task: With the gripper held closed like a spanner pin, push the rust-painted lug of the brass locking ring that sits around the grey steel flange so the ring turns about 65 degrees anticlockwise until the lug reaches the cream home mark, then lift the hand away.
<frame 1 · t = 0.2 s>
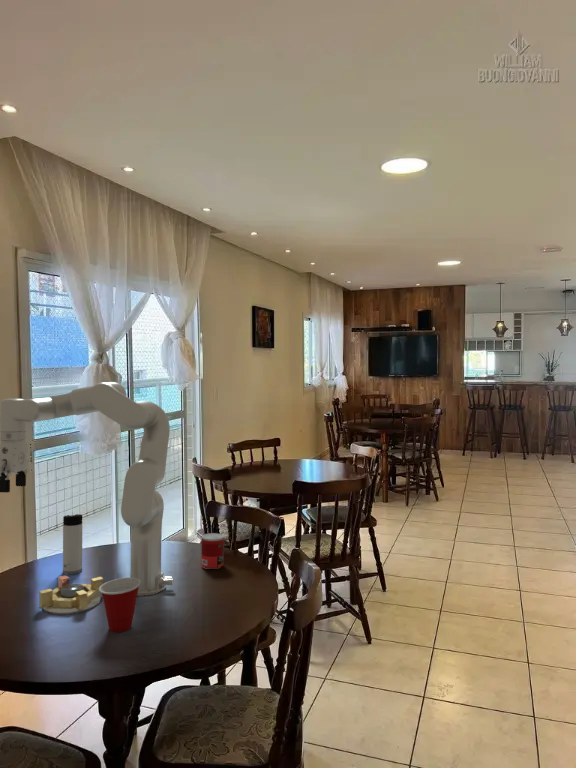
hand: (12, 489, 176), 31 cm above the table, tool pointing down, fingers open, 9 cm apart
travel mug: (72, 572, 187), on the table
plastic cup: (119, 628, 146), on the table
locking ring: (72, 591, 161), point 3 cm above the table, hinge at 0.0°
flange: (72, 602, 161), on the table
canned food: (212, 567, 194), on the table
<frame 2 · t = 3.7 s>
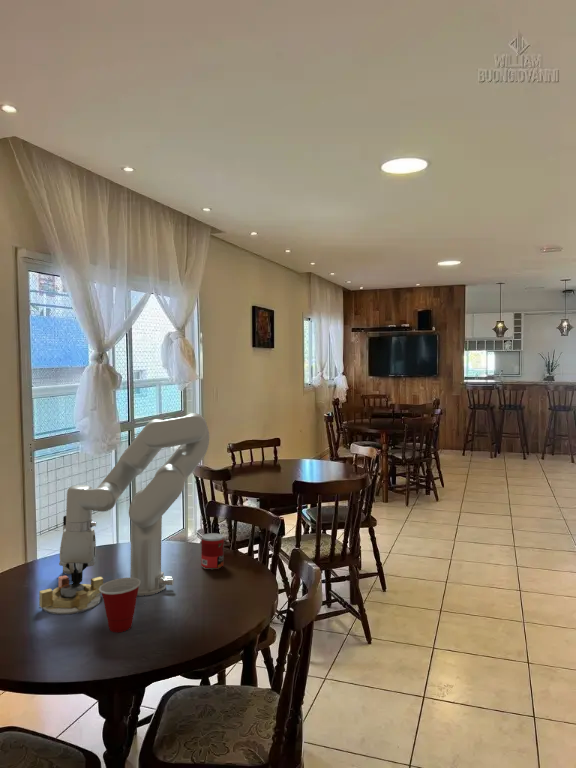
hand: (76, 583, 169), 3 cm above the table, tool pointing down, fingers closed
locking ring: (72, 591, 161), point 3 cm above the table, hinge at 0.0°, touching gripper
everything else where it was.
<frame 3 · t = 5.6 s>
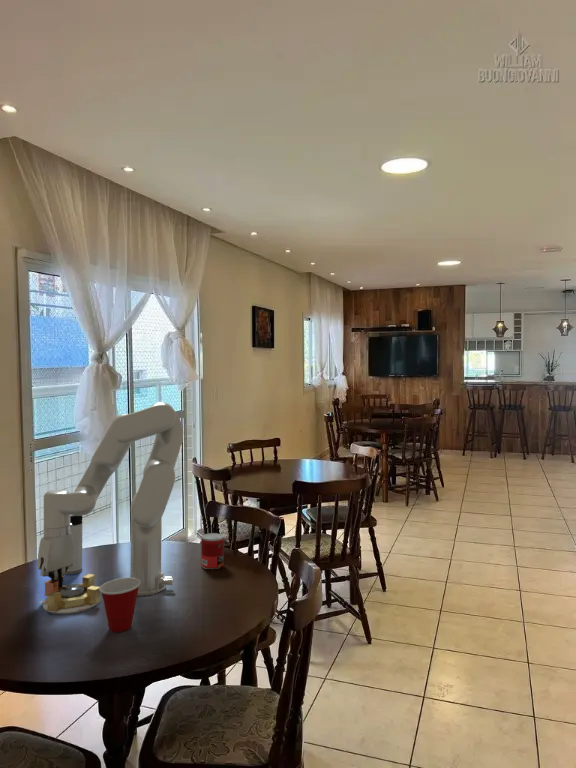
hand: (57, 590, 166), 2 cm above the table, tool pointing down, fingers closed
locking ring: (72, 591, 161), point 3 cm above the table, hinge at 31.8°, touching gripper
everything else where it was.
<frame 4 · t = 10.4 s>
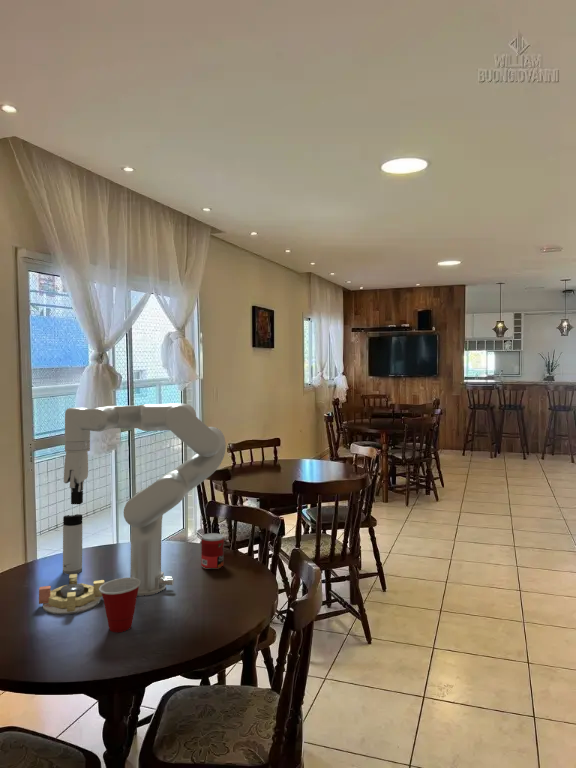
hand: (76, 503, 172), 27 cm above the table, tool pointing down, fingers closed
locking ring: (72, 591, 161), point 3 cm above the table, hinge at 68.8°
everything else where it was.
at the end: locking ring at +69° (first picture: +0°) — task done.
